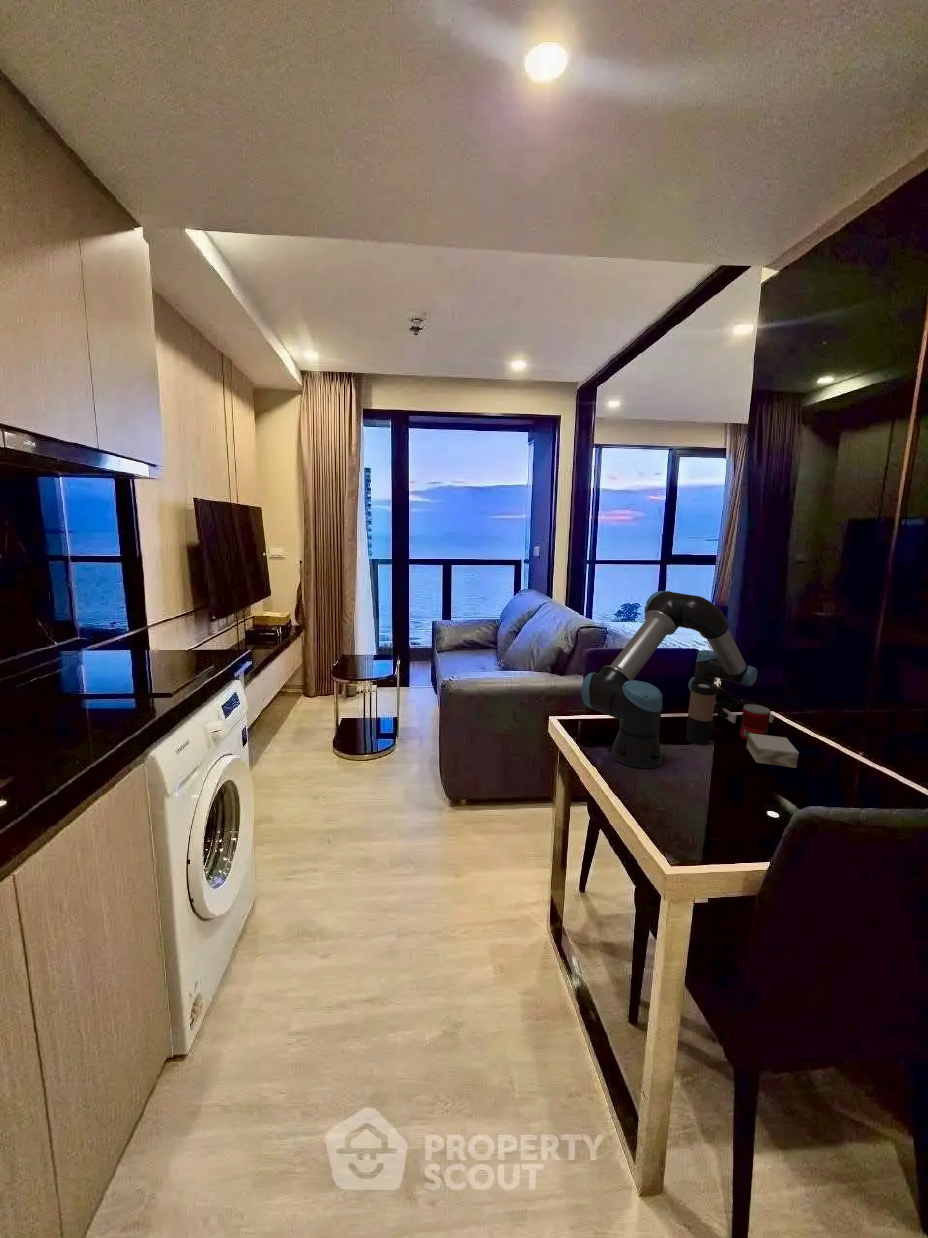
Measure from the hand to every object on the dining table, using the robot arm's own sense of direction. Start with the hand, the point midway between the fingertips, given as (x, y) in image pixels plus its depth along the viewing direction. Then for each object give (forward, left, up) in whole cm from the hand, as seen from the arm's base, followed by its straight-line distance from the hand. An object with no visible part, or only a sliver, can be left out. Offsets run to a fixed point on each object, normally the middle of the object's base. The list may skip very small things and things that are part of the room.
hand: (753, 719), depth 173 cm
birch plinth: (+1, -16, -6) cm, 17 cm away
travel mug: (-19, -10, -7) cm, 22 cm away
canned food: (0, -2, -7) cm, 7 cm away
